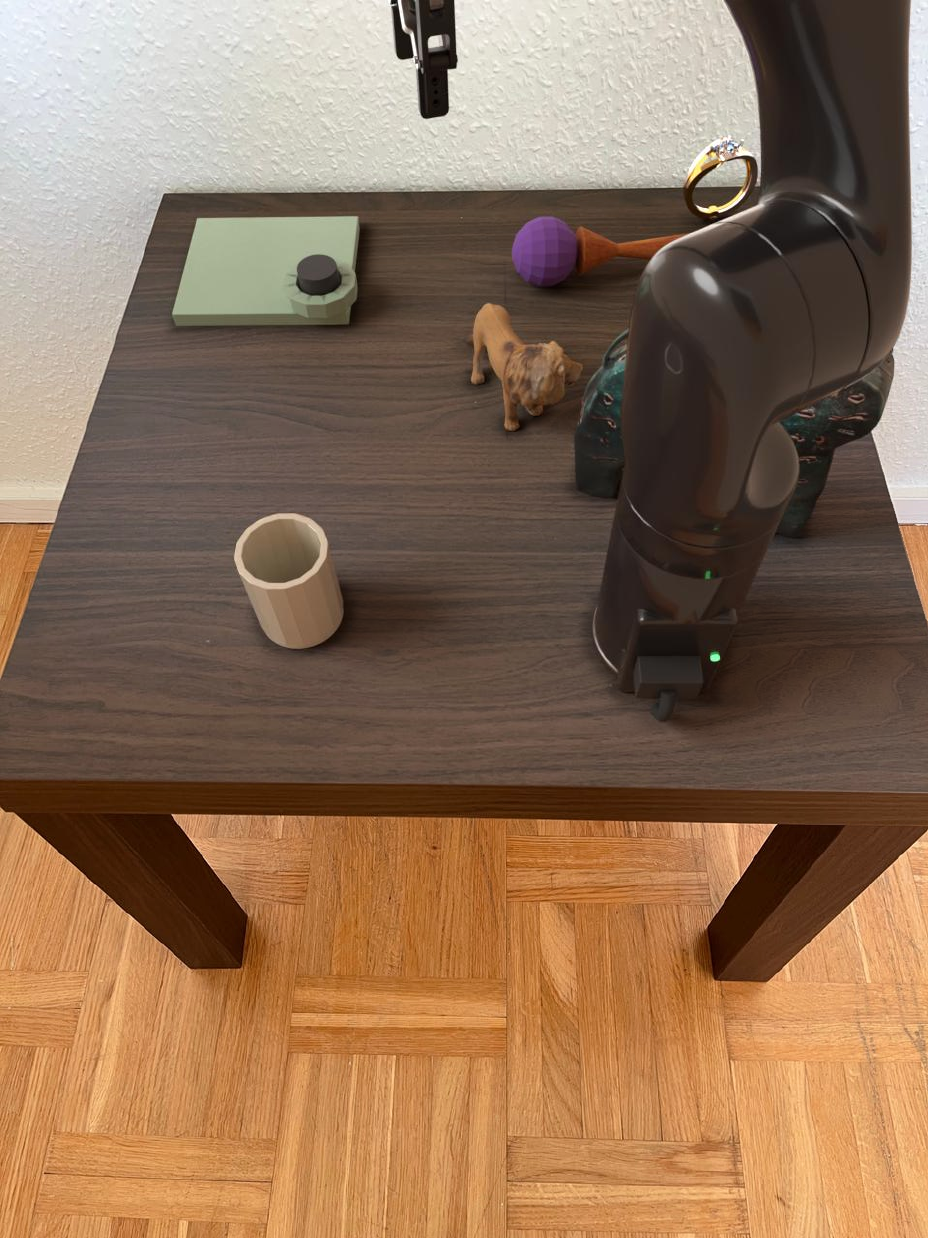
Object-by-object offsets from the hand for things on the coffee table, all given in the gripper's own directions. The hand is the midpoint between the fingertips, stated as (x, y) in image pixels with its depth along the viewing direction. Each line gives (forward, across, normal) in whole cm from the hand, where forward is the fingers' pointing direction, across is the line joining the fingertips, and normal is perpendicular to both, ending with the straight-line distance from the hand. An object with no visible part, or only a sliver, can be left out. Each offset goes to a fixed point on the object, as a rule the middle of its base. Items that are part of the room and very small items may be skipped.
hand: (421, 84), depth 71 cm
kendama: (+18, +4, +17) cm, 25 cm away
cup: (+18, +34, -18) cm, 42 cm away
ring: (+18, -1, +29) cm, 34 cm away
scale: (+18, -5, -15) cm, 24 cm away
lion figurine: (+18, +17, +3) cm, 25 cm away
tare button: (+16, +1, -11) cm, 19 cm away
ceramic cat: (+18, +32, +14) cm, 39 cm away
